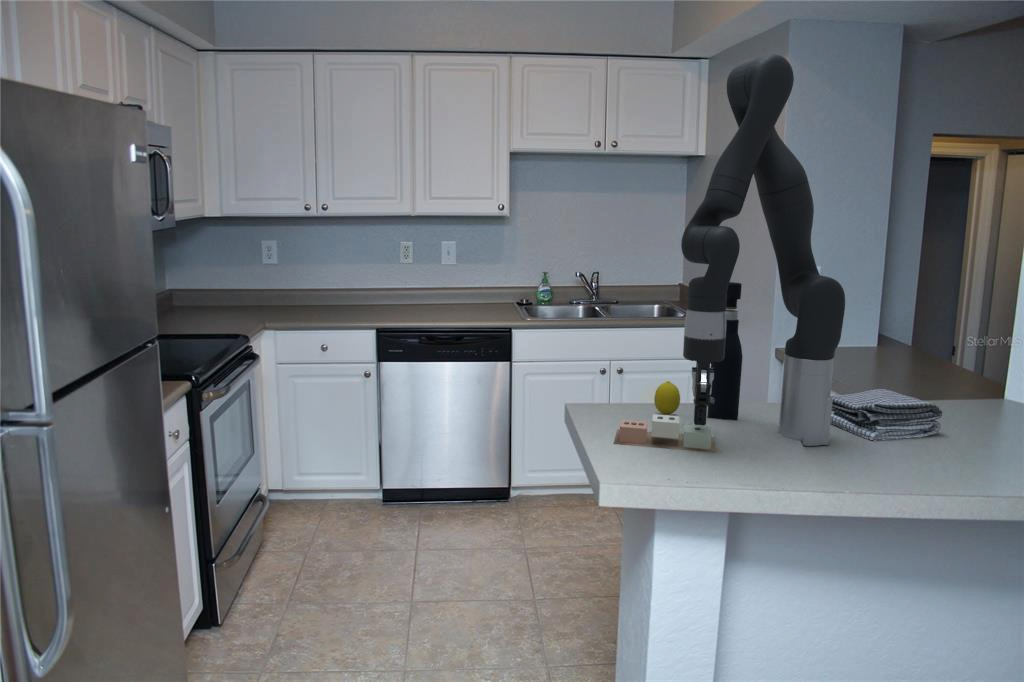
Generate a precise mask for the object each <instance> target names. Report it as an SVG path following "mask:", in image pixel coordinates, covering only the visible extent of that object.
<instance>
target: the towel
mask: <svg viewBox="0 0 1024 682" xmlns="http://www.w3.org/2000/svg"><path fill="white" fill-rule="evenodd" d="M830 396H831V397H832V399H833V401H832V412H833V413H831V422H830V423H831V424H830V425H832V424H834V425H833V426H835V425H836V426H835V427H837V426H839V427H838V428H840V427H841V428H840V429H842V428H844V429H843V430H845V429H846V430H845V431H847V430H848V431H847V432H849V431H851V432H850V433H852V432H853V434H854V433H855V435H856V434H858V435H857V436H859V435H860V436H859V437H861V436H863V437H866V438H868V439H870V440H882V439H896V438H906V437H914V436H925V435H932V436H935V435H937V434H938V432H939V431H940V430H941V423H940V422H939V421H938V420H939V419H941V418H942V416H943V414H944V413H943V411H942V409H940V407H939V406H938V405H936V404H935V403H933V402H930V401H923V400H921V399H919V398H916V397H914V396H908V395H904V394H902V393H898V392H896V391H893V390H890V389H885V388H877V389H870V390H864V391H860V392H856V393H846V394H839V395H838V394H835V395H830ZM934 434H935V435H934ZM863 437H862V438H863ZM866 438H865V439H866ZM868 439H867V440H868ZM870 440H869V441H870ZM882 441H883V440H882Z"/></svg>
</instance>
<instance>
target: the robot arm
mask: <svg viewBox="0 0 1024 682" xmlns="http://www.w3.org/2000/svg"><path fill="white" fill-rule="evenodd" d="M793 70H794V69H793V67H792V65H791V63H790V62H789V60H787V58H785V57H784V56H783V55H780V54H775V53H773V54H766V55H763V56H761V57H756V58H754V59H752V60H749V61H745V62H743V63H741V64H739V65H737V66H736V67H735V66H734V68H732V70H730V72H729V75H728V77H727V80H726V94H727V95H726V96H727V99H728V103H729V105H730V109H731V112H732V114H733V117H734V119H735V122H736V125H737V127H738V129H737V131H736V133H735V134H734V136H733V137H732V138H731V140H730V142H729V143H728V144H727V146H726V148H724V150H723V152H722V153H721V155H720V157H719V158H718V160H717V163H716V164H715V166H714V168H713V170H712V174H711V177H710V180H709V182H708V186H707V189H706V192H705V196H704V198H703V200H702V202H701V204H700V205H699V206H698V207H697V209H696V211H695V212H694V214H693V215H692V218H691V219H690V220H689V222H688V224H686V225H687V226H686V227H685V229H684V230H683V231H684V232H683V233H682V237H681V244H680V246H681V253H682V255H683V256H684V258H685V260H687V261H688V262H690V263H692V264H693V263H694V264H698V265H699V264H702V265H708V267H707V269H706V272H705V274H704V276H697V277H694V278H692V279H691V280H689V283H688V287H687V300H686V301H687V302H686V314H685V319H684V330H683V331H684V332H683V350H682V351H683V353H682V356H683V358H684V359H685V360H687V361H691V362H695V363H696V364H695V366H692V367H691V378H692V384H691V385H692V386H691V389H692V396H693V400H692V401H693V405H694V410H693V411H694V412H693V424H694V425H695V426H706V424H707V414H708V405H709V396H710V395H711V391H712V381H713V380H714V371H713V368H711V363H712V362H720V361H722V360H723V359H724V356H725V340H726V310H727V309H726V301H727V288H728V285H729V282H731V278H732V276H733V273H734V271H735V266H736V264H737V261H738V258H739V255H740V250H741V249H740V247H741V246H740V244H741V243H740V240H739V236H738V234H737V231H735V230H734V229H733V228H732V227H730V226H725V225H721V224H722V223H723V222H724V221H726V220H729V219H732V218H733V219H734V218H736V217H738V216H739V215H740V213H741V212H742V209H743V208H744V204H745V201H746V198H747V194H748V191H749V188H750V184H751V182H752V179H753V178H754V180H755V185H756V190H757V193H758V197H759V201H760V206H761V210H762V213H763V216H764V220H765V222H766V227H767V230H768V233H769V237H770V241H771V243H772V246H773V247H772V248H773V251H774V254H775V258H776V263H777V269H778V277H779V282H780V292H781V296H782V301H783V304H784V307H785V308H786V310H787V311H788V312H789V313H790V315H792V316H794V318H797V320H796V329H795V333H794V335H793V336H791V337H790V338H788V339H787V340H786V341H785V347H784V355H783V356H784V358H783V369H782V380H781V392H780V394H781V395H780V403H779V417H778V426H777V433H778V434H779V435H781V436H782V437H784V438H786V439H787V438H788V439H791V440H797V441H800V443H801V445H802V446H807V447H815V446H829V443H830V442H829V439H830V432H831V431H830V430H831V424H830V422H831V414H832V412H833V411H832V401H833V399H832V397H831V396H832V393H831V392H832V384H833V382H832V381H833V374H834V373H833V372H834V363H835V356H836V355H835V354H836V350H837V348H838V346H839V344H840V342H841V339H842V338H841V337H842V331H843V325H844V318H845V310H846V294H845V290H844V288H843V286H842V284H841V283H840V282H839V281H838V280H836V279H835V278H832V277H830V276H826V275H825V276H824V275H821V274H820V272H819V270H818V267H817V264H816V261H815V257H814V253H813V248H812V243H811V242H812V229H813V224H814V215H815V210H814V209H815V208H814V206H815V205H814V199H813V195H812V190H811V187H810V183H809V179H808V175H807V172H806V170H805V169H804V166H803V165H802V163H801V162H800V161H799V159H798V158H797V156H795V154H794V152H792V150H791V149H790V148H789V147H788V146H787V145H786V144H785V143H784V141H783V139H782V138H781V137H780V136H779V133H778V132H777V130H776V124H777V121H778V120H779V118H780V116H781V114H782V112H783V110H784V108H785V107H786V103H788V100H789V97H790V95H791V93H792V90H793V88H794V81H795V76H794V75H795V74H794V71H793ZM753 176H754V177H753Z"/></svg>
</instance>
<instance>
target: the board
mask: <svg viewBox="0 0 1024 682" xmlns="http://www.w3.org/2000/svg"><path fill="white" fill-rule="evenodd" d="M683 434H684V433H683ZM683 434H681V433H679V436H678V439H677V438H664V437H652V436H651V435H652V431H647V438H646V444H639V443H627V442H619V436H620V428H619V429H618V428H617V429H616V433H615V437H614V439H613V444H612V445H618V446H620V445H621V446H631V447H632V446H633V447H645V448H656V449H669V450H680V451H681V450H682V451H691V452H704V453H717V447H716V442H715V441H716V440H715V436H711V449H699V448H686V447H683Z"/></svg>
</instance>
